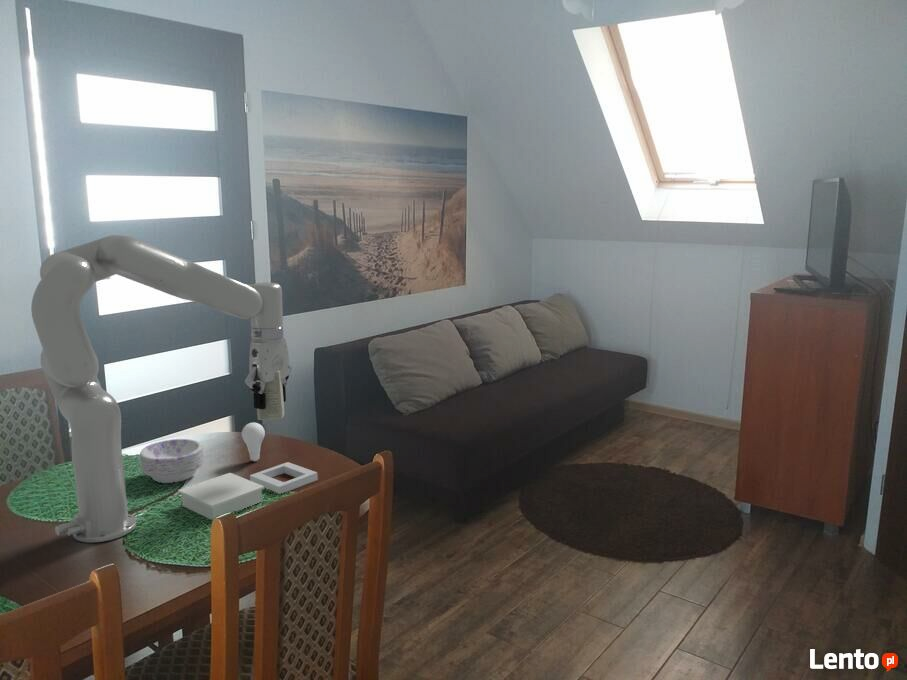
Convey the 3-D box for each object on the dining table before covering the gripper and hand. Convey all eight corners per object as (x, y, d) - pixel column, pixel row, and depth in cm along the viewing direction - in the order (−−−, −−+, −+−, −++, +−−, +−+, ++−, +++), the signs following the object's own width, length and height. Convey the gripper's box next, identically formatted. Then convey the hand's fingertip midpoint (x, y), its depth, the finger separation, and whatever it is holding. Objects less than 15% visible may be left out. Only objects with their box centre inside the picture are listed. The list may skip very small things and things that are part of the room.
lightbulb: (255, 455, 203) (253, 418, 200) (271, 459, 200) (268, 421, 197) (238, 462, 197) (236, 424, 195) (254, 466, 194) (252, 427, 192)
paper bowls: (163, 493, 177) (160, 462, 176) (130, 479, 186) (128, 449, 185) (216, 474, 189) (214, 445, 188) (183, 462, 198) (181, 434, 197)
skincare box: (284, 414, 181) (282, 367, 179) (282, 419, 177) (279, 371, 174) (259, 415, 181) (256, 368, 178) (256, 420, 176) (253, 372, 174)
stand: (213, 522, 161) (211, 505, 160) (179, 505, 170) (178, 489, 169) (265, 502, 172) (264, 486, 171) (230, 487, 180) (230, 472, 179)
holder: (279, 494, 176) (279, 486, 176) (250, 482, 183) (249, 475, 183) (317, 479, 185) (317, 472, 185) (288, 469, 193) (287, 462, 192)
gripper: (255, 341, 166) (258, 415, 169) (302, 329, 181) (304, 398, 184) (230, 338, 169) (233, 411, 172) (278, 327, 184) (280, 395, 187)
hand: (270, 404), depth 178 cm, fingers closed on skincare box, 6 cm apart
